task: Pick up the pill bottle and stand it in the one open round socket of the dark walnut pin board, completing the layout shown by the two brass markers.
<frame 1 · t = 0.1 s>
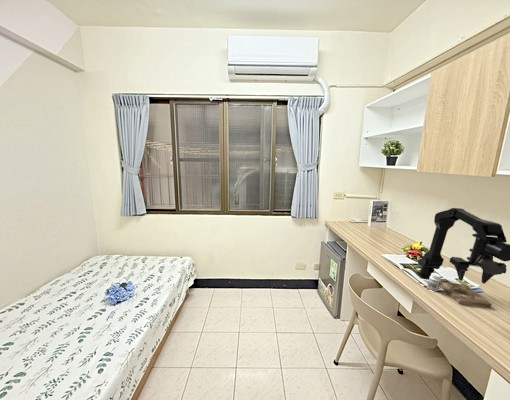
hand: (471, 281, 99), 15 cm above the table, fingers open, 9 cm apart
pill bottle: (432, 288, 118), on the table
pin board: (461, 295, 113), on the table
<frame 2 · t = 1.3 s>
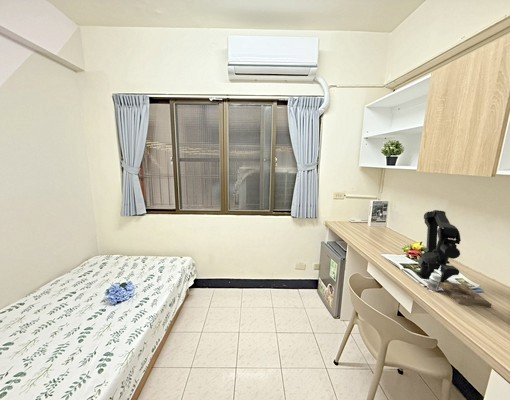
hand: (435, 277, 116), 7 cm above the table, fingers open, 9 cm apart
nothing on the table moved.
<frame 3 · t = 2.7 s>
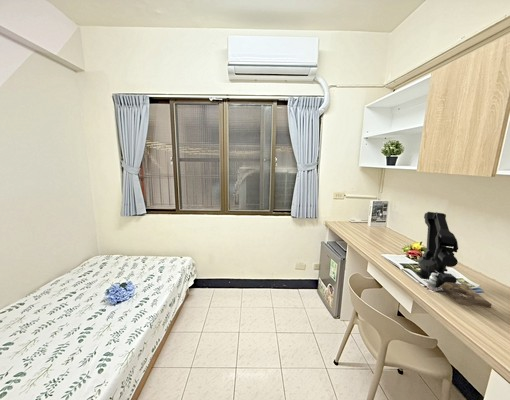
hand: (433, 284, 117), 2 cm above the table, fingers closed on pill bottle, 5 cm apart
pill bottle: (432, 288, 118), on the table, touching gripper
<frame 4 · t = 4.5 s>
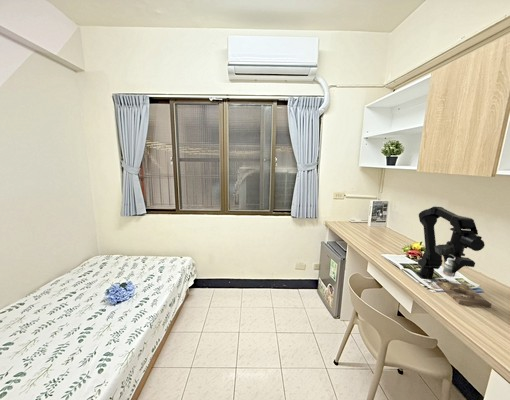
hand: (449, 270, 113), 13 cm above the table, fingers closed on pill bottle, 5 cm apart
pill bottle: (448, 274, 113), point 10 cm above the table, touching gripper
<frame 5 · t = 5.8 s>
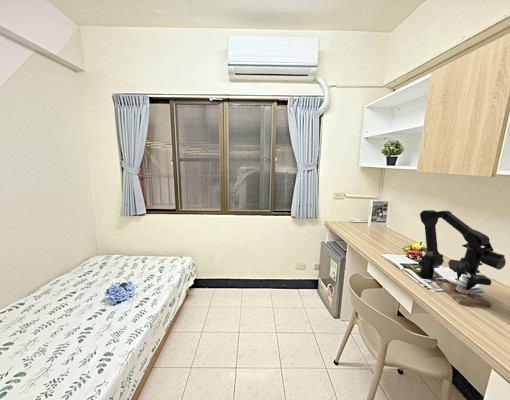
hand: (463, 286, 111), 5 cm above the table, fingers closed on pill bottle, 5 cm apart
pill bottle: (461, 291, 112), point 3 cm above the table, touching gripper
when the fingers open (3 cm above the table, at t = 6.6 s): pill bottle stays where it is, resting in pin board.
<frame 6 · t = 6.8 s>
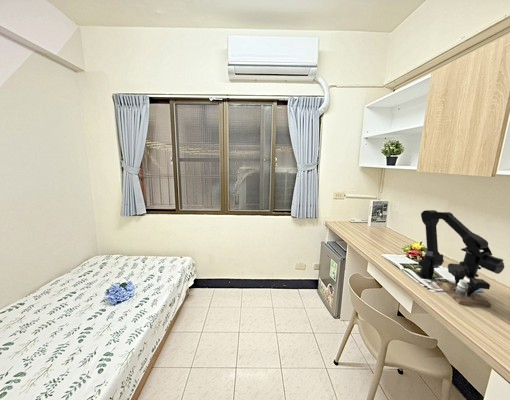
hand: (462, 290, 112), 3 cm above the table, fingers open, 7 cm apart
pill bottle: (460, 296, 113), resting in pin board
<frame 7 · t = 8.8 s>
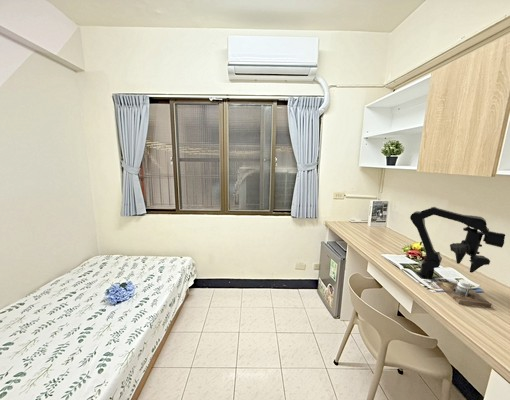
hand: (464, 267, 117), 12 cm above the table, fingers open, 9 cm apart
nothing on the table moved.
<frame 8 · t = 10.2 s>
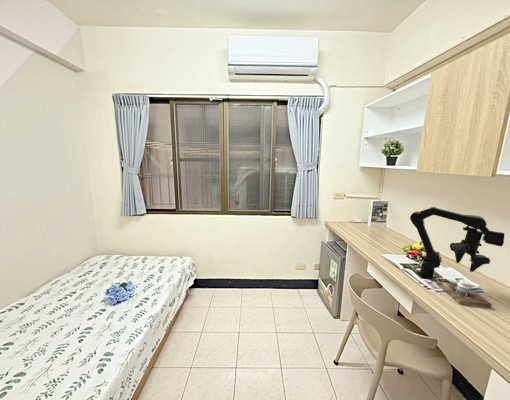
hand: (464, 267, 118), 12 cm above the table, fingers open, 9 cm apart
nothing on the table moved.
at the end: pill bottle 0.1 cm from the target spot on the pin board, point 0.0 cm above the pin board's base; pill bottle tilted 0°; the gripper is holding nothing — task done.
